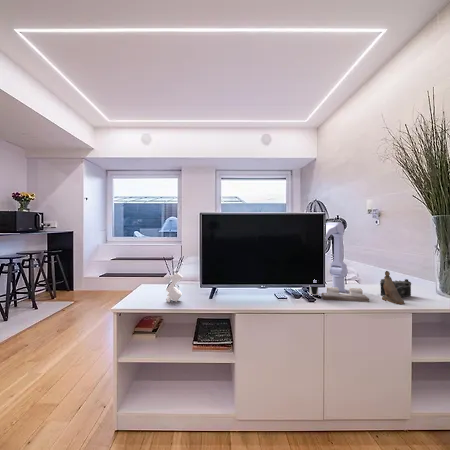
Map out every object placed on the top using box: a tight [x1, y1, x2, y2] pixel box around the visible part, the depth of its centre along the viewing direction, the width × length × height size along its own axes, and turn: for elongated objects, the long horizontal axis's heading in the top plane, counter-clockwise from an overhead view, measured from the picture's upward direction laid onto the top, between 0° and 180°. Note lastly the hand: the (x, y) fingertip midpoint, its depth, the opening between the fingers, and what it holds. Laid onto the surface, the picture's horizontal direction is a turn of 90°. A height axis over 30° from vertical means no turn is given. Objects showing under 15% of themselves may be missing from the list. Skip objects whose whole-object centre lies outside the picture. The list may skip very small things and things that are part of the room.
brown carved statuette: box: [381, 270, 405, 305], centre depth 165 cm, size 12×6×18 cm, turn 13°
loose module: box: [309, 286, 319, 296], centre depth 177 cm, size 5×4×7 cm
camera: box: [379, 278, 412, 298], centre depth 173 cm, size 18×9×10 cm, turn 86°
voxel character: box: [165, 272, 184, 303], centre depth 167 cm, size 7×12×15 cm
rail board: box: [321, 286, 370, 302], centre depth 171 cm, size 10×24×6 cm, turn 78°
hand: (313, 293), depth 177 cm, fingers closed on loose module, 5 cm apart
